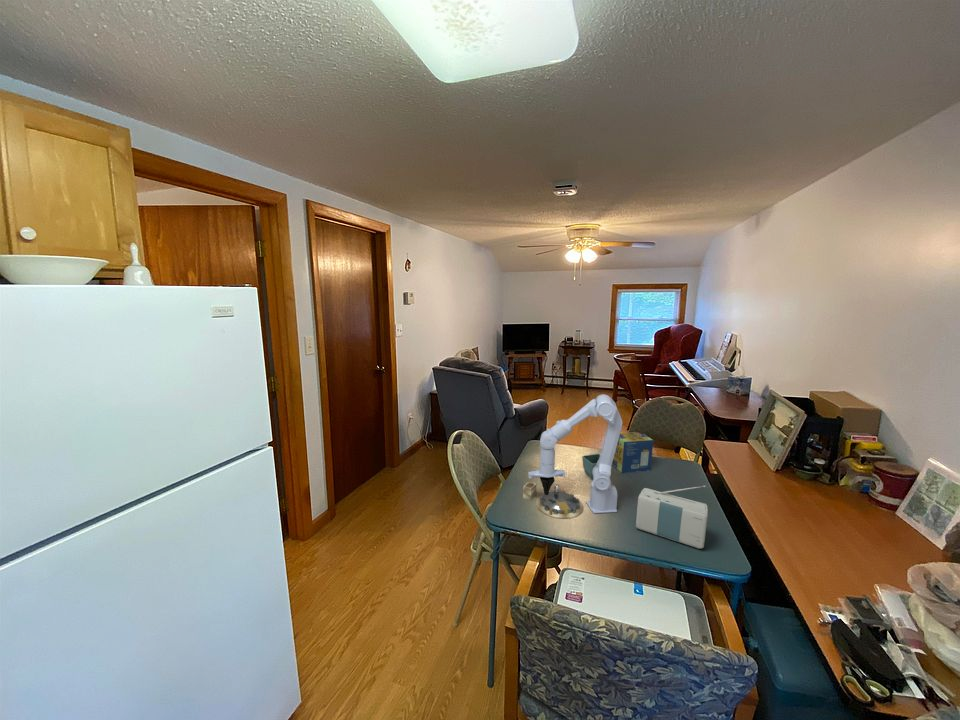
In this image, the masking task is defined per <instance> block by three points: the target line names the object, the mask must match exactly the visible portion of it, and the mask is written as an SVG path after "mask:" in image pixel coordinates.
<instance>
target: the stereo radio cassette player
mask: <svg viewBox="0 0 960 720" xmlns="http://www.w3.org/2000/svg"><path fill="white" fill-rule="evenodd" d="M702 487H703V488H706V485H702V486H693V487H686V488H680V489H679V488H678V489H673V490H666V491H658V490H655V489H651V488H647V487H644V488H643V489H642V490H641V491H640V493H639V495H638V497H637V507H636V517H635V518H636V521H635V527H636V529H638V530H640V531H644V532H646V533H650V534H653V535H656V536H658V537H659V536H660V537H663V538H665V539H668V540H672V541H675V542H677V543H681V544H684V545H687V546H690V547H693V548H696V549H704V547H705V542H706V540H705V539H706V531H707V525H708V524H707V523H708V516H709V513H708V505H707V504H706V503H705V502H700V501H696V500H692V499H690V498H689V499H688V498H684V497H682V496H681V497H680V496H679V495H678V496H677V495H673V494H669V493H674V492H680V491H681V492H682V491H686V490H693V489H698V488H699V489H700V488H702Z"/></svg>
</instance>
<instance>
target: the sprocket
mask: <svg viewBox="0 0 960 720" xmlns="http://www.w3.org/2000/svg"><path fill="white" fill-rule="evenodd" d="M553 484H554V485H553V489H552V490H551V491H549V494H548V495H545V494H544V493H543V494H544V495H543V494H541V495H539V496H540V505H541V506H544V510H546V511H548V510H550V509H552V512H553V514H557V513H559V514H564V515H568V513H571V512H572V513H576V509H579V508H580V504H579V500H580V499H579V498H577V497H576V498H575V494H573V493H569V492H566V491H565V490H561V491H559V489H560V485H559V484H557V483H553ZM542 495H543V496H542Z"/></svg>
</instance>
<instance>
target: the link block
mask: <svg viewBox="0 0 960 720" xmlns="http://www.w3.org/2000/svg"><path fill="white" fill-rule="evenodd" d="M535 497H537V483H535V482H532V481H528V482H526V483H525V484H524V485H523V487H522V498H523V499H525V500H529V501H532V500H533V498H535Z"/></svg>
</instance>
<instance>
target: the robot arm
mask: <svg viewBox="0 0 960 720" xmlns="http://www.w3.org/2000/svg"><path fill="white" fill-rule="evenodd" d="M598 416H599V417H601V419H604V420H605V421H606V423H607V427H606V431H605V435H604V438H603V442H602V447H601V451H600V453H599V454H600V457H599V460H598V461H597V465H596V466H595V467H594V468H593V470H592V474H593V480H592V481H591V482H590V495H589V500H586V501H585V503H586V505H587V506H588V508H589V509H590V510H591V512H592V513H593V514H607V513H608V514H609V513H618V509H617V506H618V504H617V503H618V490H617V488H616V486H615V485H614V484H612V481H611V475H612V466H613V465H612V462H613V458H614V454H615V451H616V447H617V443H618V439H619V436H620V433H622V432H621V431H622V428H623V424H624V423H623V419H622V417H621V415H620V412H619V409H618V407H617V404H616V402H615V401H614V399H612V397H610V396H609V395H607V394H600V395H597V396H596V398H593V399H591V400H590V401H589V402H588V403H587V404H585V405H584V406H583V407H581V408H580V409H579V410H578V411H576V413H574V414H573V415H572V416H571V417H569V418H568V419H561V420H560V419H559V420H557V421H556V422H555V424H554V425H553V426H552V427H550V428H547V429H546V430H545V431H543V432H541V435H540V440H539V444H540V451H539V469H537V470H533V471H532V470H531V471H528V473H527V477H528V479H533V478H539V479H540V483H541V484H542V489H543V490H542V491H543V494H545V495H548V494H549V492H551V491H550V490H551V488H552V486H553V484H555V480H556V479H555V477H562V478H565V477H566V471H565V470H564V469H555V463H556V462H555V460H556V449H555V447H556V444H557V443H558V442H560V441H561V440H563V439H564V438H565V437H567V436H569V434H571V433H572V432H573V428H574V427H575V426H577V425H579V424H580V423H581V422H583V421H584V420H586V419H588V418H589V417H592V418H593V417H594V418H597V417H598Z"/></svg>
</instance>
